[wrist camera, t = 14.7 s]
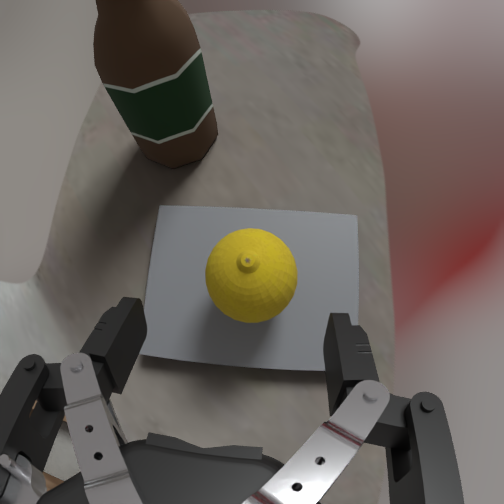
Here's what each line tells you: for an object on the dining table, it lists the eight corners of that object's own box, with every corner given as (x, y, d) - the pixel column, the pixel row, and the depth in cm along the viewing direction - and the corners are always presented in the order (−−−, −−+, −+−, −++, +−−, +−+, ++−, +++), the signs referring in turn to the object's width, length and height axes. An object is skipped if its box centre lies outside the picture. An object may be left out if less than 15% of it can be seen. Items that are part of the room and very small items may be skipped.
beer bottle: (169, 186, 28) (39, -68, 5) (130, 139, 29) (20, -60, 6) (236, 137, 29) (199, -123, 6) (190, 97, 31) (133, -111, 8)
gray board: (146, 353, 24) (139, 353, 22) (164, 212, 27) (159, 205, 25) (350, 369, 23) (355, 370, 21) (352, 222, 26) (357, 215, 24)
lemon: (202, 280, 24) (171, 249, 16) (262, 237, 24) (259, 188, 17) (245, 341, 22) (234, 340, 14) (307, 295, 23) (327, 270, 15)
